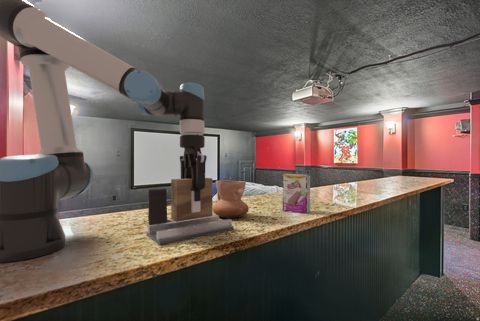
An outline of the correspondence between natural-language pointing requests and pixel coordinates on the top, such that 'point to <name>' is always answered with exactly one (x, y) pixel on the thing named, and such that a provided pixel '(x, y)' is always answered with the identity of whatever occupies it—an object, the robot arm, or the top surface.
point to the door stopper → (157, 206)
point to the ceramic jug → (230, 199)
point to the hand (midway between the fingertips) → (192, 210)
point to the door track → (188, 229)
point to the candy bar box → (296, 193)
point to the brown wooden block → (189, 200)
